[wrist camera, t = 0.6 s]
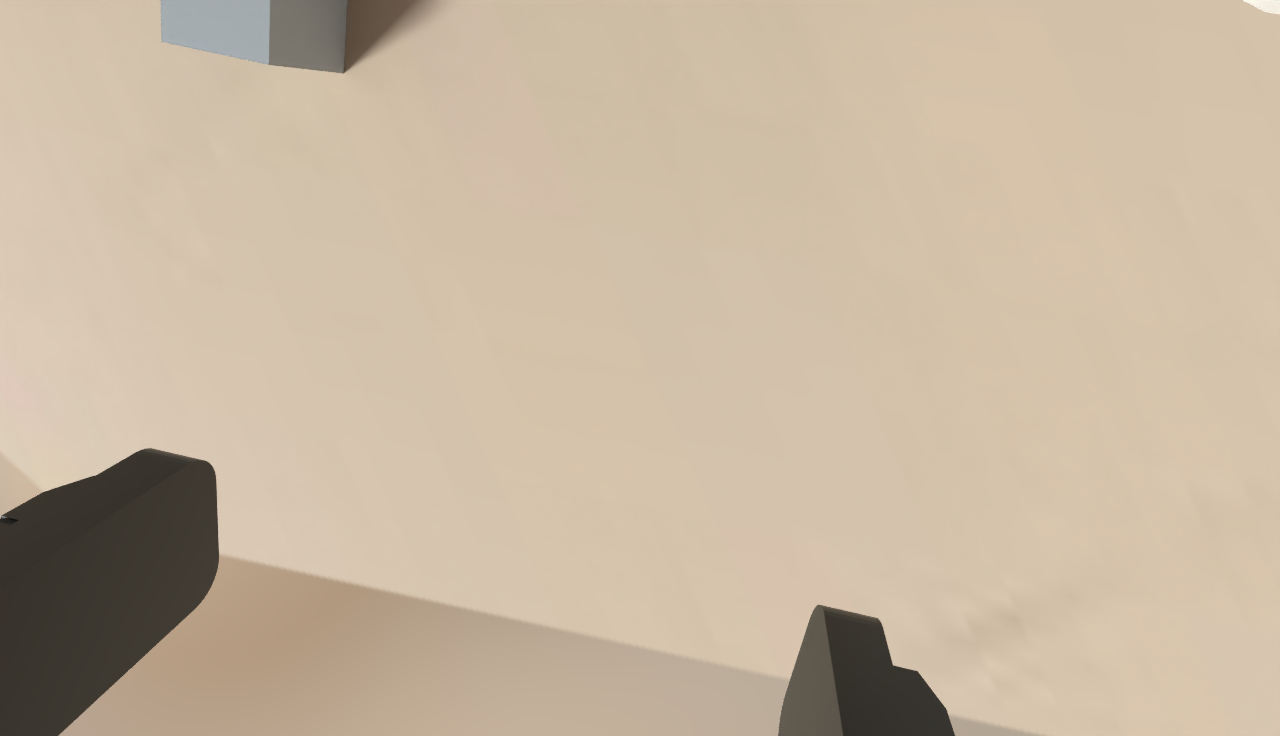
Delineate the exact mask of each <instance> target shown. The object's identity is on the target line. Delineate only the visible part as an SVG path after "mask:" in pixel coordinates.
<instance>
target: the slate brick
mask: <svg viewBox="0 0 1280 736" xmlns="http://www.w3.org/2000/svg"><path fill="white" fill-rule="evenodd" d="M347 5H348V0H161V35H162V42H165V43H169V44H174V45H179V46H183V47H188V48H193V49H197V50H202V51H207V52H211V53H216V54H221V55H225V56H230V57H235V58H239V59H244V60H249V61H253V62H258V63H263V64H268V65H275V66H284V67H293V68H302V69H310V70H319V71H328V72H336V73H344V59H345V41H346V23H347Z"/></svg>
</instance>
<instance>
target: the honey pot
mask: <svg viewBox="0 0 1280 736" xmlns="http://www.w3.org/2000/svg"><path fill="white" fill-rule="evenodd" d="M1243 1H1245V2H1247V3H1249V4H1251V5H1253V6H1254V7H1256V8H1258V9H1260V10H1262V11H1264V12H1269V13H1274V14H1279V15H1280V0H1243Z"/></svg>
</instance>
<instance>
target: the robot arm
mask: <svg viewBox="0 0 1280 736" xmlns="http://www.w3.org/2000/svg"><path fill="white" fill-rule="evenodd" d="M218 562H219V547H218V518H217V490H216V475H215V471H214V469H213V467H212V465H211V464H210V463H208V462H207V461H204V460H199V459H195V458H191V457H186V456H182V455H178V454H173V453H169V452H165V451H160V450H156V449H152V448H150V449H143V450H140V451H138V452H136V453H134V454H132V455H131V456H129V457H127V458H126V459H124V460H122V461H120V462H119V463H117V464H115V465H113V466H112V467H110V468H108V469H107V470H105V471H103V472H101V473H100V474H98V475H96V476H92V477H89V478H86V479H82V480H79V481H76V482H73V483H70V484H67V485H64V486H61V487H58V488H55V489H52V490H49V491H46V492H43V493H41V494H39V495H37V496H36V497H34V498H32V499H30V500H29V501H27V502H25V503H23V504H21V505H20V506H18V507H16V508H15V509H13V510H11V511H9V512H7V513H6V514H4V515H2V516H1V519H0V736H58V735H59V734H60V733H61V732H62V731H64V730H65V729H66V728H67V727H68V726H69V725H70V724H71V723H72V722H73V721H74V720H76V719H77V718H78V717H79V716H80V715H81V714H82V713H83V712H84V711H85V710H86V709H87V708H88V707H89V706H91V705H92V704H93V703H94V702H95V701H96V700H97V699H98V698H99V697H100V696H101V695H102V694H104V693H105V692H106V691H107V690H108V689H109V688H110V687H111V686H112V685H113V684H114V683H115V682H117V681H118V680H119V679H120V678H121V677H122V676H123V675H124V674H125V673H126V672H127V671H128V670H129V669H131V668H132V667H133V666H134V665H135V664H136V663H137V662H138V661H139V660H140V659H141V658H142V657H143V656H145V654H147V653H148V652H149V651H150V650H151V649H152V648H153V647H154V646H155V645H156V644H157V643H159V641H161V640H162V639H163V638H164V637H165V636H166V635H167V634H168V633H169V632H170V631H171V630H173V629H174V628H175V627H176V626H177V625H178V624H179V623H180V622H181V621H182V620H183V619H184V618H186V617H187V616H188V615H189V614H190V613H191V612H192V611H193V610H194V609H195V608H196V607H197V606H198V605H199V604H200V603H201V601H202V600H203V599H204V598H205V596H206V594H207V593H208V591H209V589H210V588H211V586H212V583H213V581H214V578H215V576H216V572H217V568H218ZM778 736H955V735H954V732H953V728H952V725H951V722H950V719H949V716H948V713H947V710H946V708H945V707H944V706H943V704H942V703H941V702H940V700H939V699H938V698H937V696H936V695H935V694H934V692H933V691H932V690H931V688H930V687H929V686H928V684H927V683H926V682H925V681H924V679H923V678H922V677H921V675H920V674H919V673H918V671H914V670H910V669H905V668H901V667H897V666H893V664H892V661H891V657H890V653H889V649H888V645H887V642H886V638H885V634H884V630H883V627H882V624H881V622H880V620H879V619H878V618H874V617H870V616H865V615H861V614H857V613H852V612H848V611H844V610H839V609H835V608H831V607H826V606H822V605H817V606H816V607H815V609H814V610H813V613H812V615H811V617H810V620H809V623H808V626H807V630H806V633H805V636H804V639H803V642H802V645H801V648H800V651H799V654H798V657H797V660H796V664H795V667H794V670H793V673H792V676H791V679H790V682H789V685H788V688H787V691H786V695H785V698H784V702H783V706H782V711H781V717H780V724H779V734H778Z"/></svg>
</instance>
